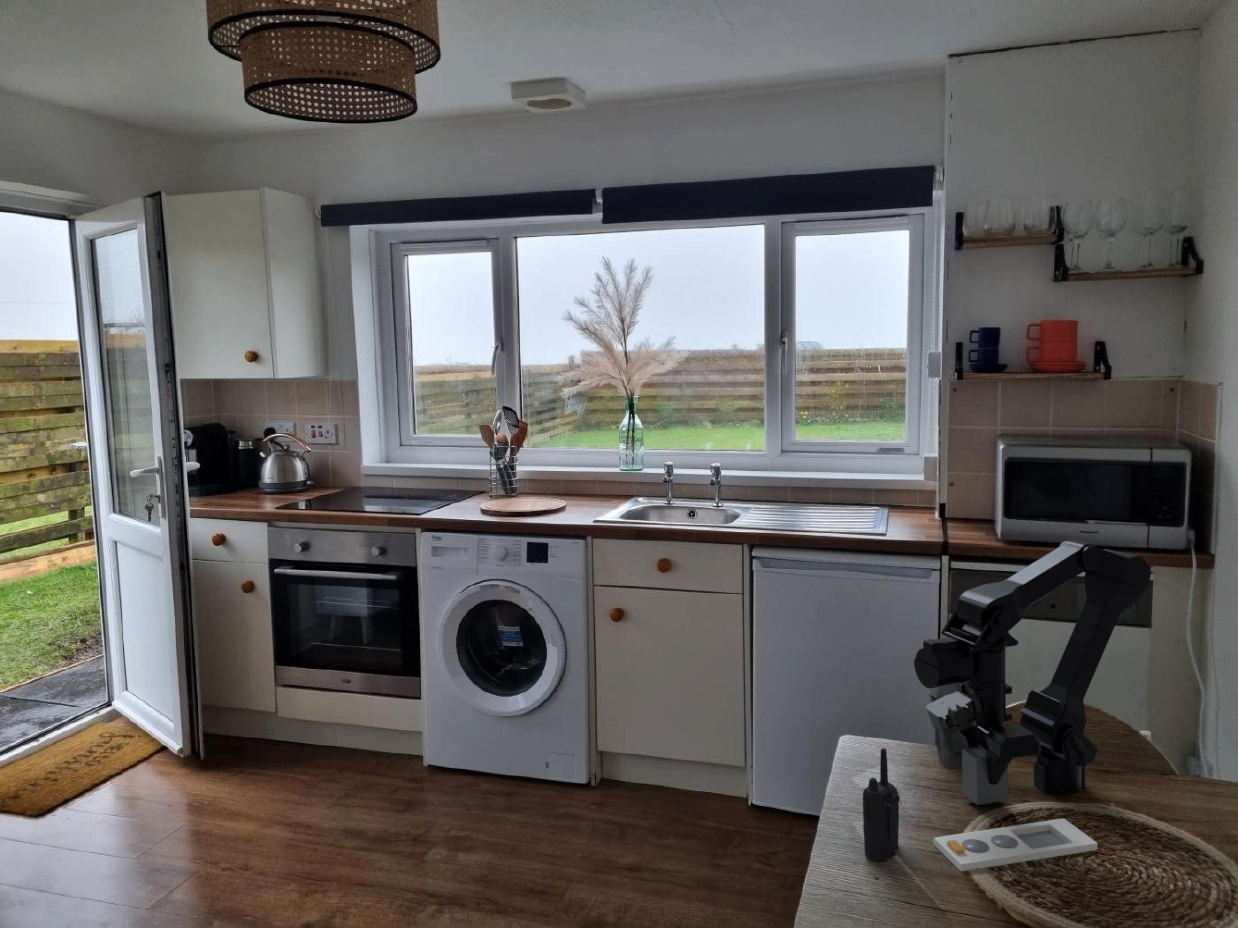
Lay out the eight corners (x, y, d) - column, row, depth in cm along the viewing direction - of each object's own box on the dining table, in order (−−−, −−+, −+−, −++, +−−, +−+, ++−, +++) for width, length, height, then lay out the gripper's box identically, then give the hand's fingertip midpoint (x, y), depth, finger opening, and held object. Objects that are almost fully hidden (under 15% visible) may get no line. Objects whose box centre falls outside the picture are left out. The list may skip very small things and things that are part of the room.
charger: (992, 788, 142) (992, 743, 141) (1008, 800, 138) (1007, 754, 137) (962, 792, 141) (962, 747, 140) (977, 804, 137) (976, 758, 136)
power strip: (1063, 831, 133) (1063, 814, 132) (1097, 856, 126) (1097, 838, 125) (933, 851, 129) (933, 833, 129) (960, 878, 122) (960, 859, 122)
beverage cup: (979, 772, 152) (979, 653, 149) (932, 770, 153) (931, 652, 151) (972, 753, 159) (971, 639, 157) (927, 751, 160) (926, 639, 158)
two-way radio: (885, 843, 132) (883, 741, 130) (911, 856, 128) (909, 752, 126) (858, 856, 129) (856, 752, 127) (884, 870, 125) (882, 763, 123)
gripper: (903, 662, 145) (905, 758, 147) (969, 705, 127) (969, 814, 129) (969, 655, 147) (969, 749, 149) (1043, 696, 129) (1042, 803, 131)
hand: (985, 777), depth 139 cm, fingers closed on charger, 4 cm apart
